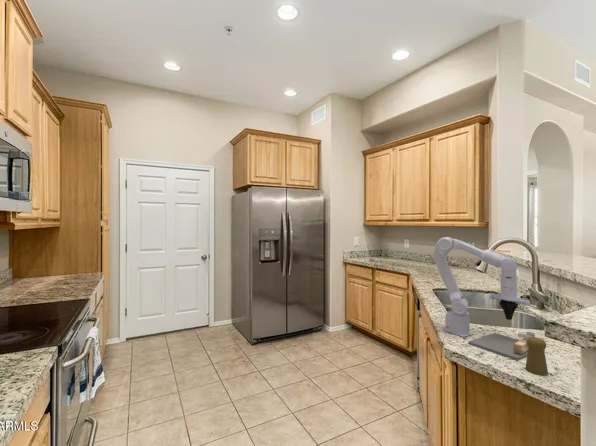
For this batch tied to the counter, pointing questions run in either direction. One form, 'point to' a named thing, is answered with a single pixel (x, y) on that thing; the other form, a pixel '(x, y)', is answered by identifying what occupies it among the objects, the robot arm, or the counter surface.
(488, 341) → the base plate
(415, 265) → the counter surface
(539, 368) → the cork
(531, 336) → the keeper
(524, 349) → the link
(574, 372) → the counter surface
